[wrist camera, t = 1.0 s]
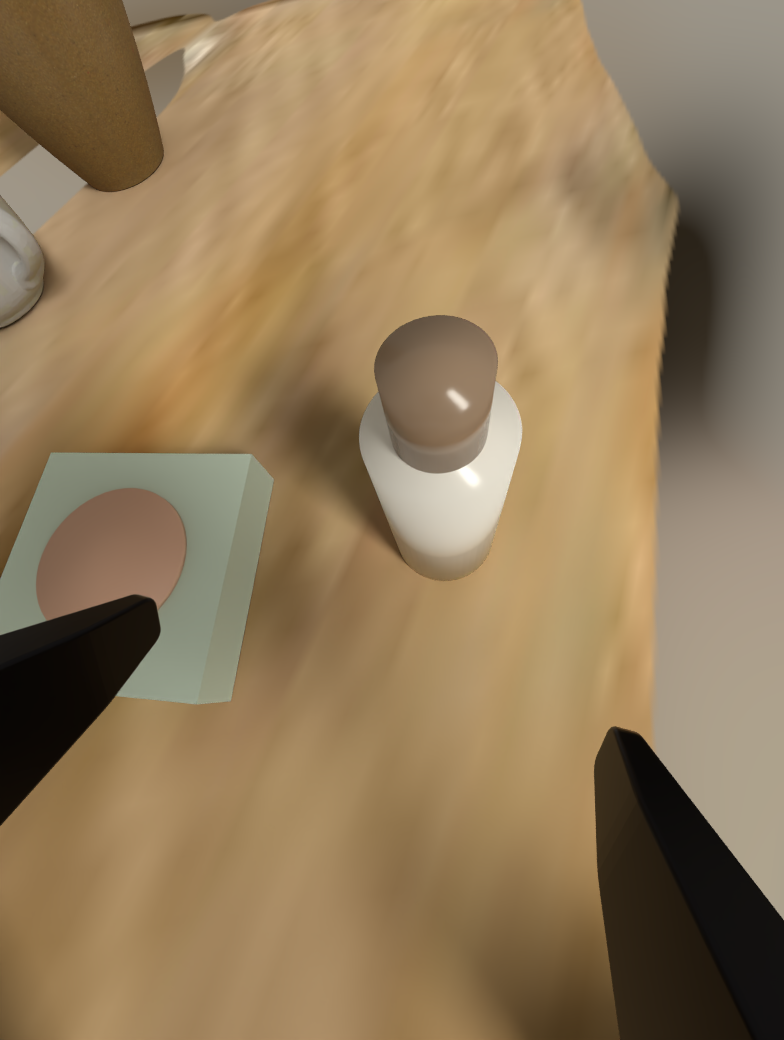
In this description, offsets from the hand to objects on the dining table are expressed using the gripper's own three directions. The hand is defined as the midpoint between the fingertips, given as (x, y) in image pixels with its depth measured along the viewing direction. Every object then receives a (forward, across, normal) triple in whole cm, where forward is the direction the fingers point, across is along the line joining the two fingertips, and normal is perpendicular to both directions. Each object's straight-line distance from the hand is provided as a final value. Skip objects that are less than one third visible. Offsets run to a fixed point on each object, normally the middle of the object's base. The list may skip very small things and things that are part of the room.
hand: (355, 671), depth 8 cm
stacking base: (+10, +15, +8) cm, 20 cm away
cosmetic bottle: (+14, 0, +4) cm, 15 cm away
